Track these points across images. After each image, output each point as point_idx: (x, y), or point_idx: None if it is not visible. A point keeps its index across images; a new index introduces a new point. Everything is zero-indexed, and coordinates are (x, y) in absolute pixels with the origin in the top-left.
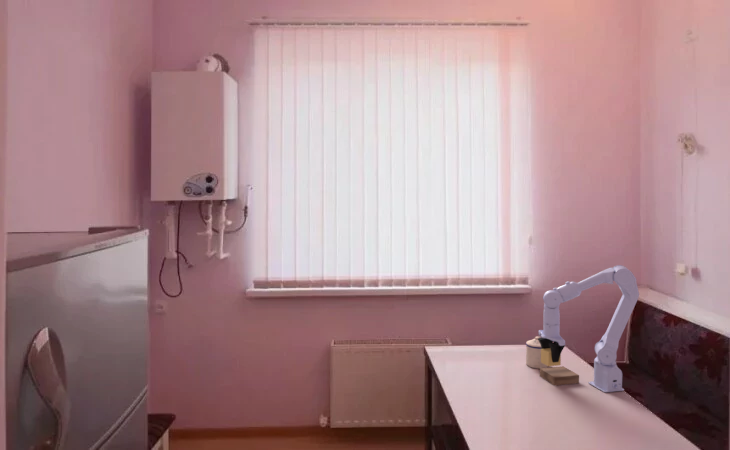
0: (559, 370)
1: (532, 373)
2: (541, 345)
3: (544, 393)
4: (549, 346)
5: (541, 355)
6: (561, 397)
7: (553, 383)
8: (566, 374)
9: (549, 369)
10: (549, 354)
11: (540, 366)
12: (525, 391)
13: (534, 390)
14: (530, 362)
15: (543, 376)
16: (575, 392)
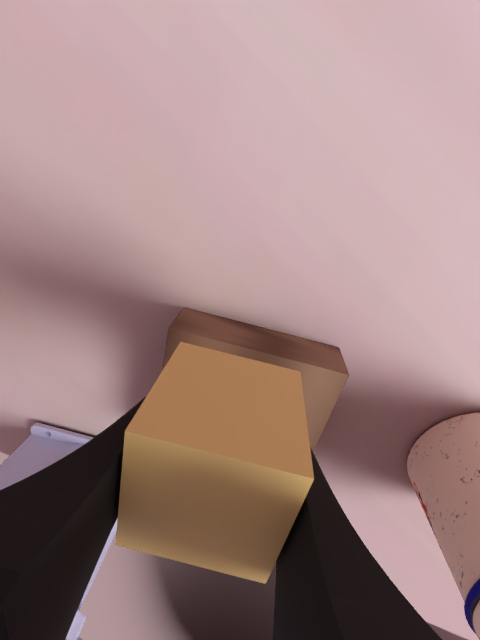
0: None
1: (398, 346)
2: (350, 548)
3: (98, 152)
4: (282, 584)
5: (294, 412)
6: (21, 203)
7: (191, 313)
8: None
9: None
10: (133, 425)
11: (425, 443)
12: (170, 35)
13: (163, 125)
14: None
15: (298, 342)
16: (69, 325)
